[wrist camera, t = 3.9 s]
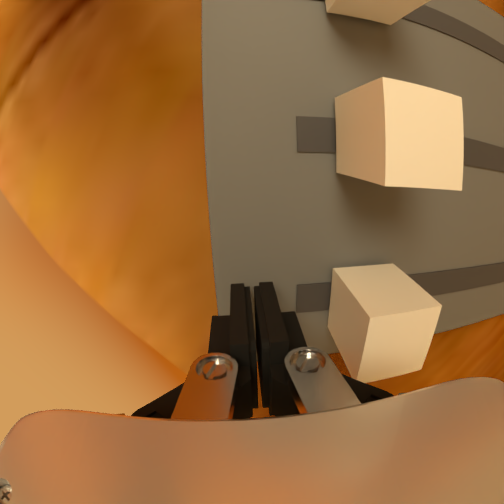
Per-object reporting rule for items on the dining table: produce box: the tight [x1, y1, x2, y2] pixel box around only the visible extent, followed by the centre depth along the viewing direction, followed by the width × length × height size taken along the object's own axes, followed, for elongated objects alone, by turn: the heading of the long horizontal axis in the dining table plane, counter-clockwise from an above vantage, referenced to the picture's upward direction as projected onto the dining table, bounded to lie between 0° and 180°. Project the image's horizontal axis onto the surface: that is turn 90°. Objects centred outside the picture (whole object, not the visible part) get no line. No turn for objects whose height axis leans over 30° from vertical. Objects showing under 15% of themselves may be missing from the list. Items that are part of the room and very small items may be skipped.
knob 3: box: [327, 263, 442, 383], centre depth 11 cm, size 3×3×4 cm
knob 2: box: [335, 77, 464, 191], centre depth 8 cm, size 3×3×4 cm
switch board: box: [202, 0, 504, 361], centre depth 12 cm, size 21×26×3 cm
